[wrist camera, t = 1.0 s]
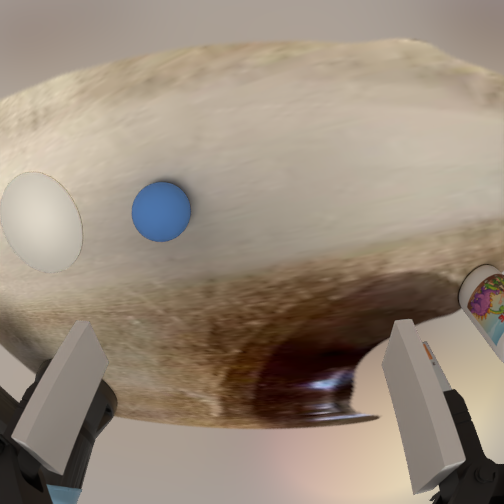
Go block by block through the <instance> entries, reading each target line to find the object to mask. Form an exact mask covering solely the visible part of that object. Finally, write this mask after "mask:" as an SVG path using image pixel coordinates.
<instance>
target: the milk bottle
mask: <svg viewBox="0 0 504 504" xmlns="http://www.w3.org/2000/svg"><path fill="white" fill-rule="evenodd" d="M459 303H460V306H461V308H462V309H463V310H464V312H465V313H466V314H467V316H468V317H469V318H470V320H471V321H472V322H473V324H474V325H475V326H476V328H477V329H478V330H479V332H480V333H481V335H482V336H483V337H484V339H485V340H486V341H487V343H488V344H489V345H490V347H491V348H492V350H493V351H494V352H495V353H496V355H497V356H498V357H499V359H500V360H501V361H502V362H503V363H504V275H503V274H502V273H501V272H500V271H499V270H498V269H496V268H495V267H494V266H491V265H483V266H480V267H478V268H477V269H475V270H474V271H473V272H471V273H470V275H469V276H468V277H467V278H466V279H465V281H464V283H463V284H462V286H461V289H460V292H459Z"/></svg>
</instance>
